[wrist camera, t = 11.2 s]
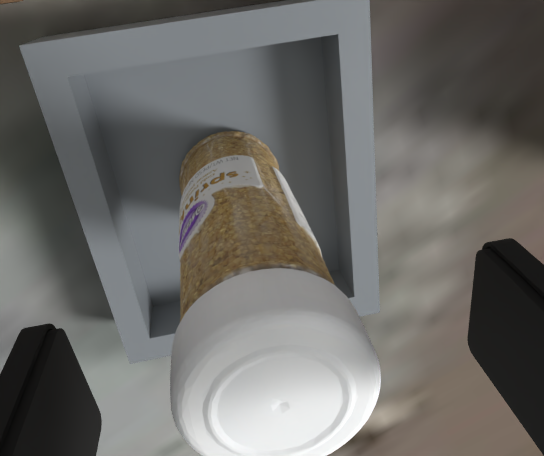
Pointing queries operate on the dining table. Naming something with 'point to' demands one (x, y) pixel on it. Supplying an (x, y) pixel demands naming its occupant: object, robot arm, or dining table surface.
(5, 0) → the holder
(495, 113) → the dining table surface
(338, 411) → the sprinkles bottle
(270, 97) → the tray
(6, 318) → the dining table surface
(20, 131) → the dining table surface
